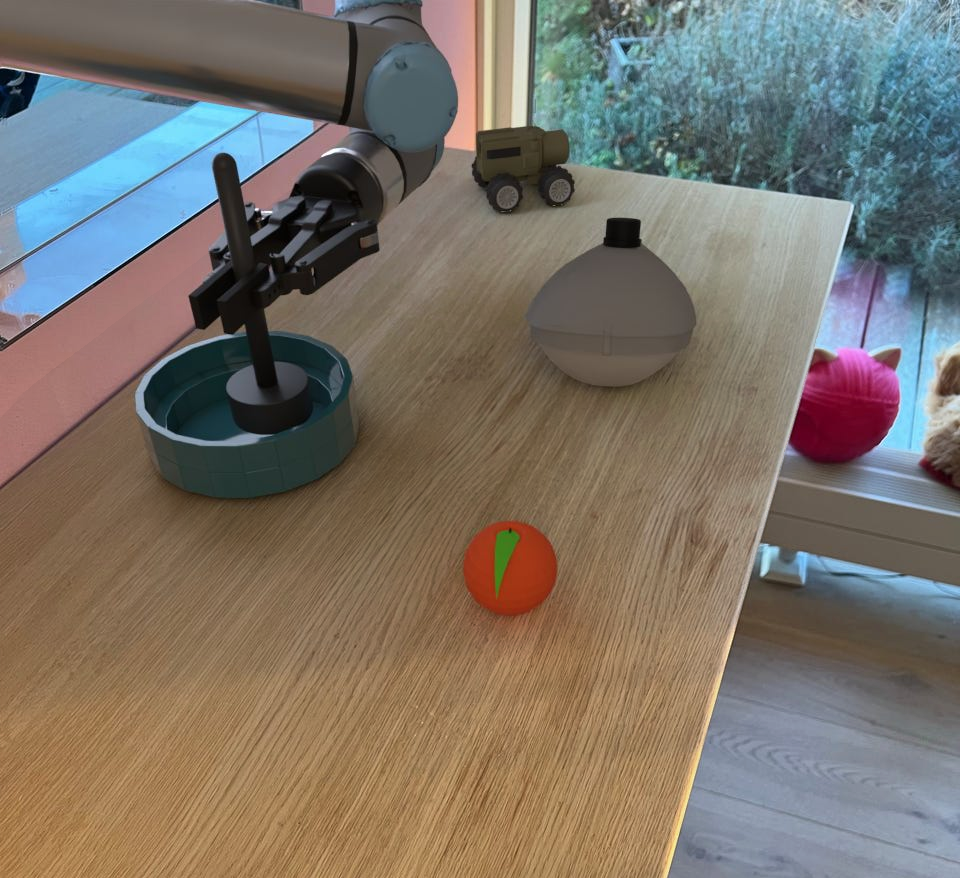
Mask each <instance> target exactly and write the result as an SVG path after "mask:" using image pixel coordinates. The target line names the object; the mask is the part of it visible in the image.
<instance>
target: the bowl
mask: <svg viewBox="0 0 960 878" xmlns="http://www.w3.org/2000/svg"><path fill="white" fill-rule="evenodd" d="M268 332H269V337H270V343H271V348H272V353H273V358H274V362H286V363H291V364H294V365H296V366H299V367H300V368H302V369H303V370H304V371H305V372H306V373H307V376H308V380H309V386H310V392H311V398H312V404H313V412H312V415H311V417H310V418H309V419H308V420H307V421H306V422H305V423H303V424H302V425H299V426H296V427H293V428H291V429H288V430H285V431H282V432H280V433H277V434H274V435H258V434H252V433H249V432H246V431H244V430H242V429H240V428H239V427H238V426H237V425H236V424H235V422H234V420H233V416H232V412H231V408H230V404H229V399H228V395H227V391H226V386H227V383H228V381H229V379H230V378H231V377H232V376H233V375H234V374H235V373H236V372H238V371H240V370H241V369H243V368H245V367H248V366H251V365H253V364H252V359H251V354H250V349H249V344H248V339H247V335H246V331H242V332H235V333H234V334H233V335H230V334H223V335H218V336H213V337H211V338H208V339H205V340H201V341H199V342H195V343H192V344H189V345H187V346H184V347H183V348H181V349H179V350H177V351H175V352H173V353H171V354H170V355H169V354H168V355H167V356H166V357H163V358H162V359H161V360H160V361H159V362H157V363H156V365H154V366H153V367H152V368H151V369H149V370H148V371H147V372H146V373H145V374H144V375H143V377H142V378H141V381H140V382H139V385H138V386H137V388H136V390H135V392H134V402H135V403H134V405H135V413H136V417H137V420H138V424H139V426H140V430H141V433H142V436H143V440H144V443H145V446H146V450H147V453H148V456H149V460H150V462H151V464H152V465H153V466H154V468H155V469H156V470H157V472H158V473H159V474H160V476H161V478H162V479H164V480H166V481H167V482H169V483H170V484H172V485H174V486H175V487H178V488H179V489H181V490H184V491H186V492H189V493H194V494H199V495H201V496H202V495H203V496H206V497H212V498H218V499H219V498H223V499H224V498H225V499H226V498H227V499H228V498H229V499H232V498H233V499H242V498H243V499H250V498H257V497H258V498H259V497H263V496H267V495H274V494H279V493H280V494H281V493H284V492H287V491H290V490H293V489H295V488H298V487H300V486H303V485H306V484H308V483H311V482H313V481H316V480H318V479H319V478H321V477H322V476H323V475H325V474H326V473H328V472H330V471H331V470H333V469H334V468H336V467H337V466H339V465H340V464H341V463H342V462H343V461H344V459H345V458H346V457H347V456H348V454H349V453H350V451H352V449H353V448H354V447H355V445H356V442H357V438H358V433H359V428H360V419H359V413H358V404H357V397H356V388H355V382H354V374H353V372H352V369H351V366H350V363H349V360H348V359H347V358H346V357H345V356H344V355H343V354H342V353H341V352H339V350H338V349H336V348H335V347H334V346H333V345H331V344H329V343H327V342H325V341H322V340H320V339H318V338H315V337H312V336H310V335H305V334H301V333H295V332H289V331H284V330H283V331H282V330H268Z"/></svg>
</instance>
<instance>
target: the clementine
mask: <svg viewBox="0 0 960 878" xmlns="http://www.w3.org/2000/svg"><path fill="white" fill-rule="evenodd" d="M462 573H463V578H464V581H465V586H466V588H467V590H468V591H469V593H470V594H471V596H472V597H473V599H474V600H475V602H476V603H478V604H479V605H480V606H481V607H483V608H484V609H486V610H488V611H489V612H492V613H494V614H497V615H502V616H512V617H513V616H518V615H523V614H526V613H528V612H531V611H532V610H534V609H536V608H537V607H539V606H540V605H542V604H543V603H544V602H545V601H546V600H547V598H548V597H549V595H550V594H551V592H552V590H553V589H554V586H555V584H556V580H557V577H558V560H557V555H556V552H555V549H554V547H553V545H552V544H551V541H550V540H549V538H547V536H546V535H545V534H544V533H542V532H541V531H540V530H539V529H537V528H536V527H535V526H533V525H532V524H528V523H526V522H522V521H518V520H504V521H498V522H494V523H492V524H489V525H487V526H486V527H484V528H483V529H482V530H480V532H478V533H477V534H476V535H475V536H474V537H473V538H472V539H471V541H470V543H469V545H468V546H467V549H466V551H465V553H464V557H463V566H462Z"/></svg>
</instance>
